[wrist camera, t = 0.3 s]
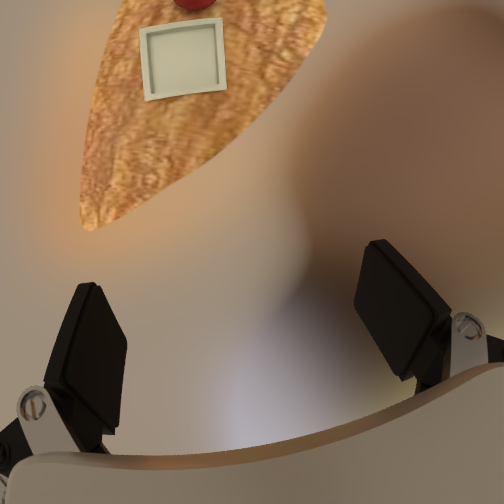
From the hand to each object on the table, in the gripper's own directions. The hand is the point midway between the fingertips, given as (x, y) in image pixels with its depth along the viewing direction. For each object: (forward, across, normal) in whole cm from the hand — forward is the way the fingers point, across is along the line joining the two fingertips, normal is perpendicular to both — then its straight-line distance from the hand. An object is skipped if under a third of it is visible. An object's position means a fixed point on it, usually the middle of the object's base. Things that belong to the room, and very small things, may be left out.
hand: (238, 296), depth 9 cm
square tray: (+30, +2, -11) cm, 32 cm away
